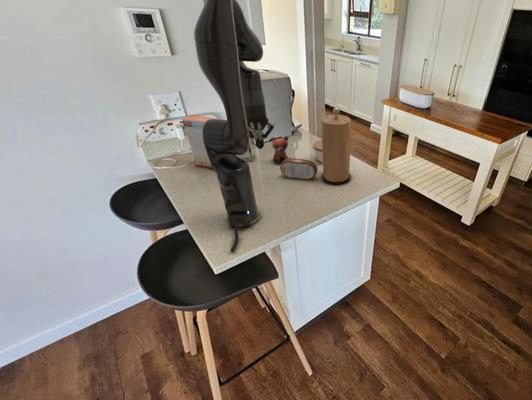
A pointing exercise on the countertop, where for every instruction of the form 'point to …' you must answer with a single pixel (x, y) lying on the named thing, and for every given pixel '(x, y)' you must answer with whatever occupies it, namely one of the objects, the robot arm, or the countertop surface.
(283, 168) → the tin
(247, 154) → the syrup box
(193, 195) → the countertop surface
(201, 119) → the cracker box
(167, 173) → the countertop surface
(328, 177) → the paper towel roll
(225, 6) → the robot arm
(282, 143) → the stuffed fox
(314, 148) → the trinket box
